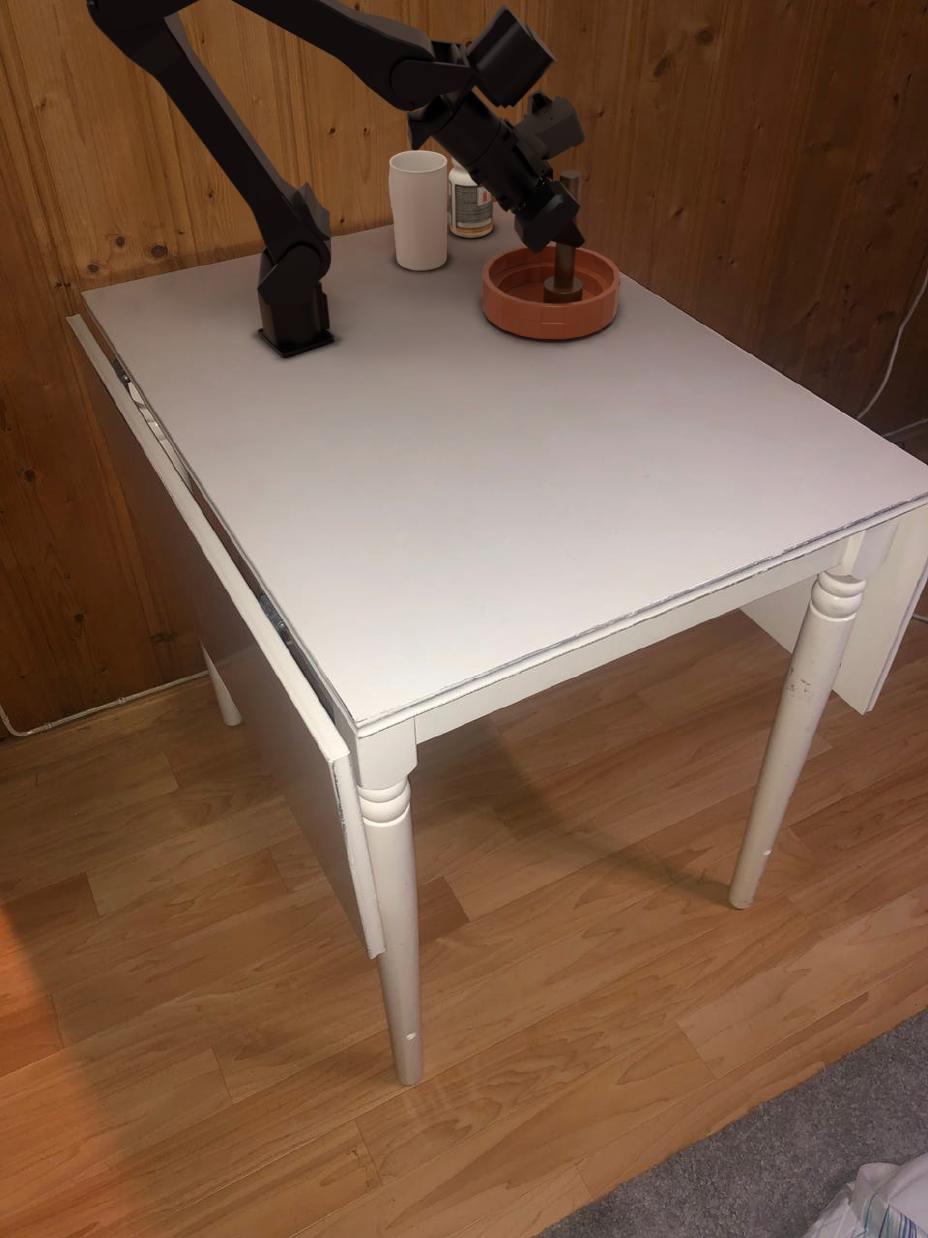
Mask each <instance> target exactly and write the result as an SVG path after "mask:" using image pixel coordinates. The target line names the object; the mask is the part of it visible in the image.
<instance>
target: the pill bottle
mask: <svg viewBox="0 0 928 1238" xmlns="http://www.w3.org/2000/svg"><path fill="white" fill-rule="evenodd" d="M451 163H452V165H453V168H451V169H450V171H449V173H448V216H449V219H448V220H449V229H450V231H451V233H453V234H454V235H455V236H457V237H461V238H467V239H475V238H480V237H484V236H486V235H488V234H490V233H491V232H492V230H493V227H494V196H492V195H491V194H490V193H489V192H488V191H487V190H486V189H485V188H484V187H483V186H482V185H481V184H480V185H479V186H478V185H477V184H476V183H475V182H474V181H473V180H472V179H471V177H470V176H469V174H468V172H467V171H466V170H465V169H464V168H463V167H462V166H461V165H460V164H459V163H458V162H457V161H456V160H455V159H454V158H453V157H452V156H451Z"/></svg>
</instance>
